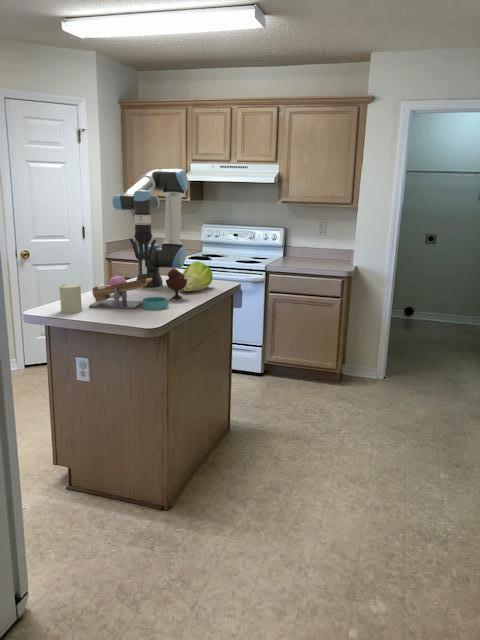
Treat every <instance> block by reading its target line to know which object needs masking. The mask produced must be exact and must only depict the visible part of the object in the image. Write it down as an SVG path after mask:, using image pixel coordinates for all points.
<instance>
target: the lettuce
mask: <svg viewBox="0 0 480 640" xmlns="http://www.w3.org/2000/svg"><path fill="white" fill-rule="evenodd" d="M182 274H183V275H184V279H187V284H186V286H185V287H184V288H183V289H182V290H183V291H185V292H191V291H193V292H194V291H203V290H205V289H206V288H208V286H210V285H212V284H211V283H212V282H213V272H212V269H211V267H209V265H207V264H205V263H204V262H200V261H199V260H197V261H195V262H192V263H191V264H189V265H188V266H186V268H185V269H184V271H183V272H182Z"/></svg>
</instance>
